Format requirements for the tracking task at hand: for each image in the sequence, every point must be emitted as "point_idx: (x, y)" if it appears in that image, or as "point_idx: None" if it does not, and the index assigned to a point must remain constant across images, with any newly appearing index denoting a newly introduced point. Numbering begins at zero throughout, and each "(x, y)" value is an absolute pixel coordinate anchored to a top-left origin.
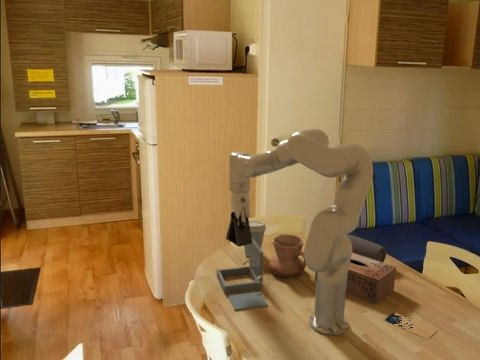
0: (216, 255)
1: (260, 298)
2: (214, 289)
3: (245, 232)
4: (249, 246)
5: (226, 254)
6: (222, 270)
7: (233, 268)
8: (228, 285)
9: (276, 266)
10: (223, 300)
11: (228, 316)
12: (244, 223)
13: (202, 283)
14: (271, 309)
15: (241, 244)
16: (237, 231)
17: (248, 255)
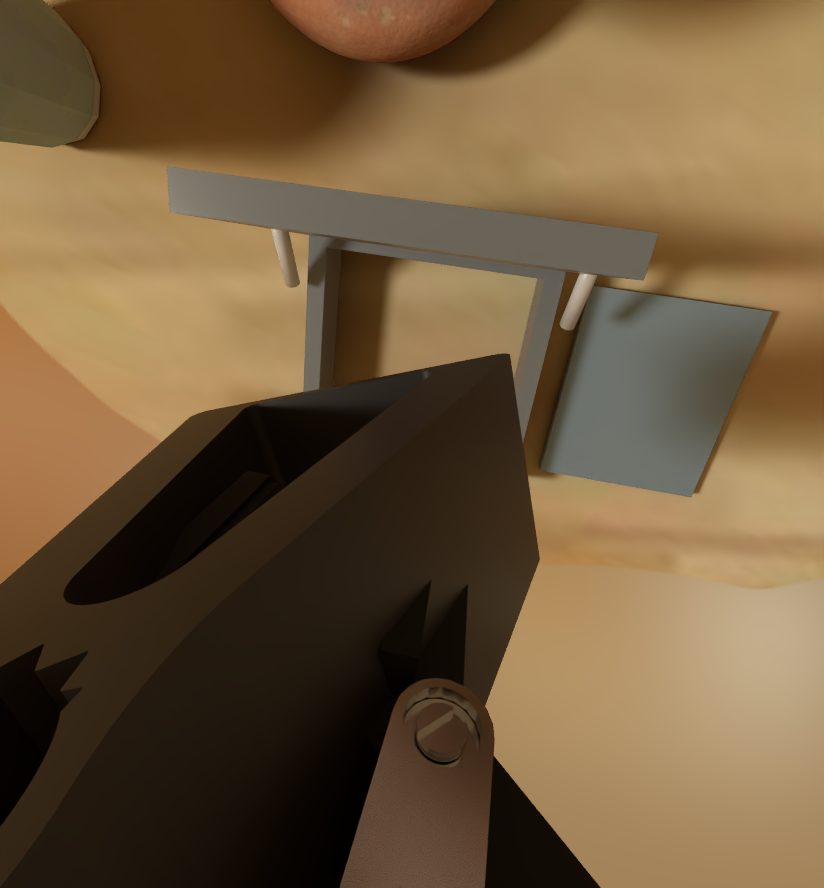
0: (59, 342)
1: (676, 322)
2: None
3: (464, 532)
4: (22, 106)
5: (47, 277)
6: None
7: (311, 357)
8: None
9: (432, 6)
10: (565, 501)
11: (715, 537)
12: (490, 775)
13: None
14: (809, 306)
15: (534, 535)
16: None
17: (81, 131)
